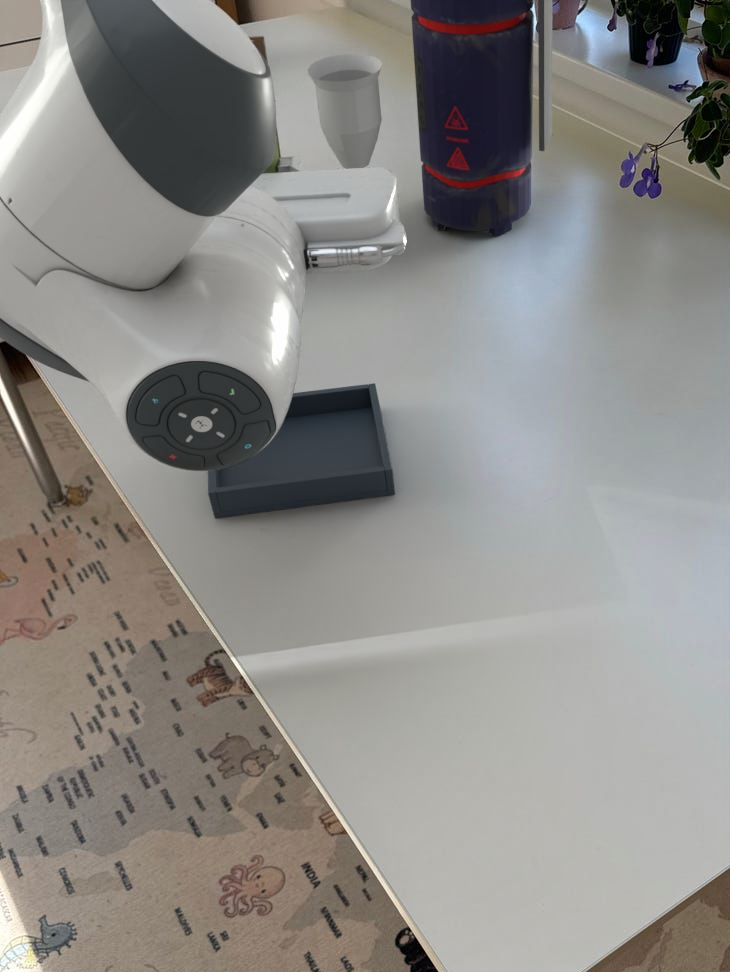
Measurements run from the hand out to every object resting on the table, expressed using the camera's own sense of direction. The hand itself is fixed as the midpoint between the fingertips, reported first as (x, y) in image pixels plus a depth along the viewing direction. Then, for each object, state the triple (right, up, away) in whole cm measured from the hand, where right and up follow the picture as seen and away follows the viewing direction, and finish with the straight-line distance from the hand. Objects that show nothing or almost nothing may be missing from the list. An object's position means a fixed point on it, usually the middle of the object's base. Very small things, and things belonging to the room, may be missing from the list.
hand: (248, 170), depth 70 cm
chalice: (+3, +9, +40) cm, 41 cm away
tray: (+1, -17, +15) cm, 23 cm away
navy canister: (+16, +15, +45) cm, 50 cm away
